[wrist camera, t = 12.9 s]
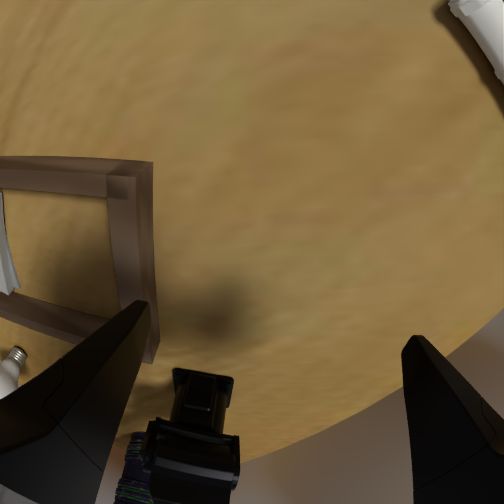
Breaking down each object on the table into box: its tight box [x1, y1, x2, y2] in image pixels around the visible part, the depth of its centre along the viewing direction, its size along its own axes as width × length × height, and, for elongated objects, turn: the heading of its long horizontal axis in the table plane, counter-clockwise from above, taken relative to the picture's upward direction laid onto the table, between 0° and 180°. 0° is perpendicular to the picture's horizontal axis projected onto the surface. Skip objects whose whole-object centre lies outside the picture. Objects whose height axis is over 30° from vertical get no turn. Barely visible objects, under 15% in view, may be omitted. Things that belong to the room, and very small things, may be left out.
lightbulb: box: [0, 347, 27, 399], centre depth 29 cm, size 6×6×11 cm
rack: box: [0, 156, 160, 364], centre depth 22 cm, size 18×20×3 cm
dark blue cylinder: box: [113, 432, 160, 504], centre depth 39 cm, size 10×10×15 cm
